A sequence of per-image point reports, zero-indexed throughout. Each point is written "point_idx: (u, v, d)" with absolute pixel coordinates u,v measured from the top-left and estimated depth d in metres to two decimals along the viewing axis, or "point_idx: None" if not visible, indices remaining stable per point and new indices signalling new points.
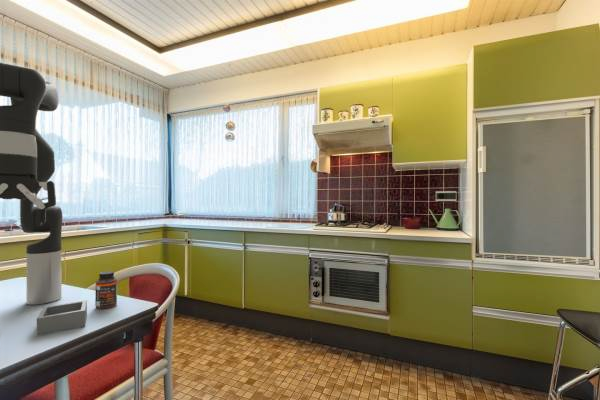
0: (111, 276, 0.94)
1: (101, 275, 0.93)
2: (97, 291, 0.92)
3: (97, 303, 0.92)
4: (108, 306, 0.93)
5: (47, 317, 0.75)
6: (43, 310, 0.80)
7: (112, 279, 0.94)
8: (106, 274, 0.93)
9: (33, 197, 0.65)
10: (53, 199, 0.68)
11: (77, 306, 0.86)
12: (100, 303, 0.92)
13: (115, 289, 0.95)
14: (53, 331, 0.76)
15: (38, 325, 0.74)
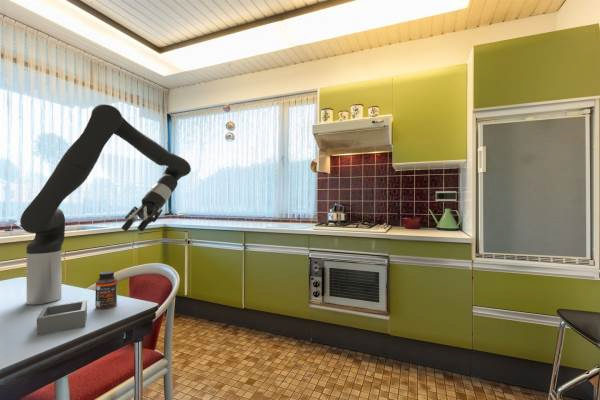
0: (111, 276, 0.94)
1: (101, 275, 0.93)
2: (97, 291, 0.92)
3: (97, 303, 0.92)
4: (108, 306, 0.93)
5: (47, 317, 0.75)
6: (43, 310, 0.80)
7: (112, 279, 0.94)
8: (106, 274, 0.93)
9: None
10: None
11: (77, 306, 0.86)
12: (100, 303, 0.92)
13: (115, 289, 0.95)
14: (53, 331, 0.76)
15: (38, 325, 0.74)
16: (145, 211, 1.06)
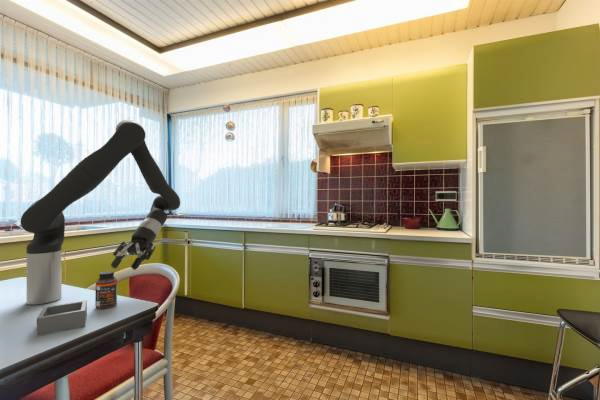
0: (111, 276, 0.94)
1: (101, 275, 0.93)
2: (97, 291, 0.92)
3: (97, 303, 0.92)
4: (108, 306, 0.93)
5: (47, 317, 0.75)
6: (43, 310, 0.80)
7: (112, 279, 0.94)
8: (106, 274, 0.93)
9: None
10: None
11: (77, 306, 0.86)
12: (100, 303, 0.92)
13: (115, 289, 0.95)
14: (53, 331, 0.76)
15: (38, 325, 0.74)
16: (138, 248, 1.04)
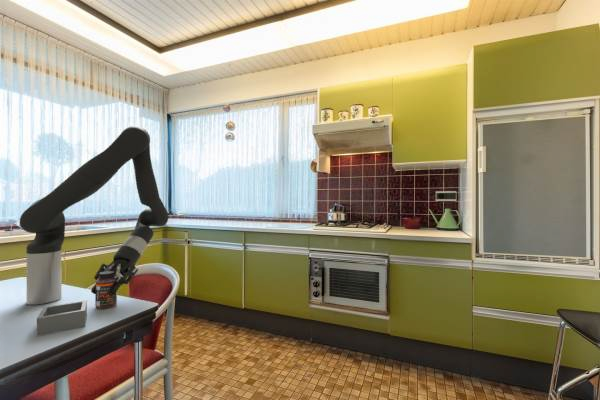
0: (111, 276, 0.94)
1: (101, 275, 0.93)
2: (97, 291, 0.92)
3: (97, 303, 0.92)
4: (108, 306, 0.93)
5: (47, 317, 0.75)
6: (43, 310, 0.80)
7: (112, 279, 0.94)
8: (106, 274, 0.93)
9: None
10: None
11: (77, 306, 0.86)
12: (100, 303, 0.92)
13: None
14: (53, 331, 0.76)
15: (38, 325, 0.74)
16: (118, 270, 0.97)
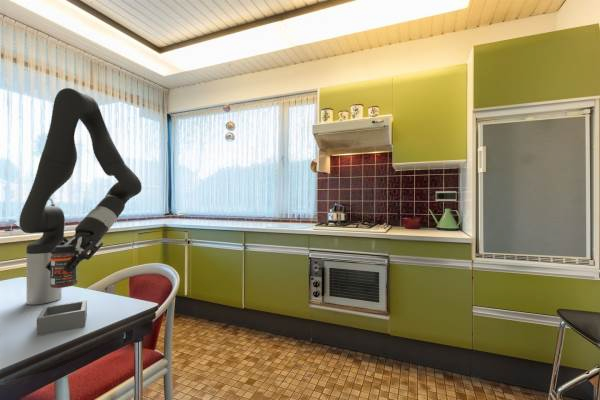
0: (69, 250, 0.81)
1: (57, 248, 0.79)
2: (52, 267, 0.78)
3: (51, 280, 0.78)
4: (65, 284, 0.79)
5: (47, 317, 0.75)
6: (43, 310, 0.80)
7: (70, 253, 0.81)
8: (63, 247, 0.80)
9: None
10: None
11: (77, 306, 0.86)
12: (55, 281, 0.78)
13: None
14: (53, 331, 0.76)
15: (38, 325, 0.74)
16: (78, 244, 0.83)
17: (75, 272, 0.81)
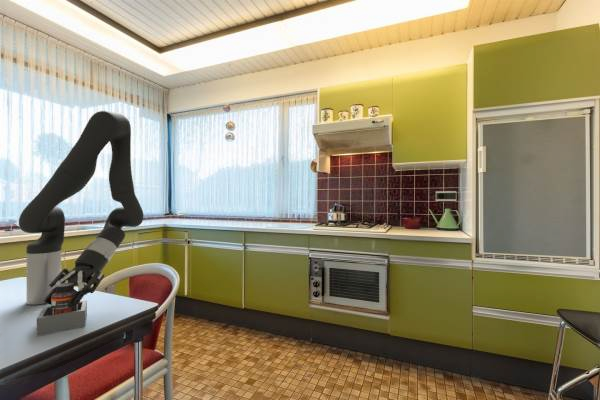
0: (70, 289, 0.81)
1: (57, 288, 0.79)
2: (52, 307, 0.78)
3: None
4: None
5: (47, 317, 0.75)
6: (43, 310, 0.80)
7: (71, 292, 0.81)
8: (64, 287, 0.80)
9: None
10: None
11: None
12: None
13: None
14: (53, 331, 0.76)
15: (38, 325, 0.74)
16: (80, 278, 0.83)
17: None
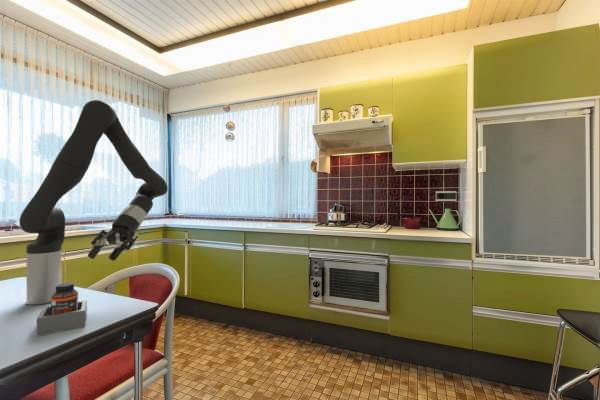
0: (70, 289, 0.81)
1: (57, 288, 0.79)
2: (52, 307, 0.78)
3: None
4: None
5: (47, 317, 0.75)
6: (43, 310, 0.80)
7: (71, 292, 0.81)
8: (64, 287, 0.80)
9: None
10: None
11: None
12: None
13: (75, 304, 0.81)
14: (53, 331, 0.76)
15: (38, 325, 0.74)
16: (118, 237, 0.95)
17: None
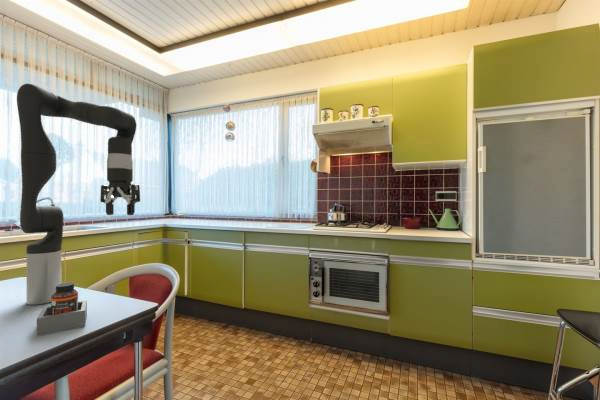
0: (70, 289, 0.81)
1: (58, 288, 0.79)
2: (52, 307, 0.78)
3: None
4: None
5: (47, 317, 0.75)
6: (43, 310, 0.80)
7: (71, 292, 0.81)
8: (64, 287, 0.80)
9: None
10: None
11: None
12: None
13: (75, 304, 0.81)
14: (53, 331, 0.76)
15: (38, 325, 0.74)
16: (122, 193, 0.97)
17: None
